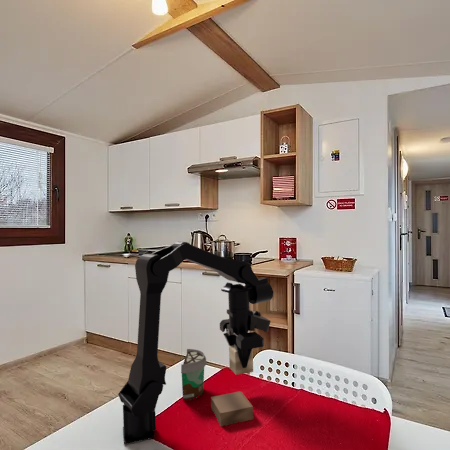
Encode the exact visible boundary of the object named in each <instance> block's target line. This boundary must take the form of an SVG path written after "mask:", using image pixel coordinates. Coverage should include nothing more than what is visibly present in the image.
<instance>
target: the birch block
mask: <svg viewBox="0 0 450 450" xmlns="http://www.w3.org/2000/svg"><path fill="white" fill-rule="evenodd" d="M253 349H254V348H253ZM253 349H252V351H251V353H250V357H249V361H248V364H247V367H246V368H243V367H242V365H241V363H240V360H239V357H238V354H237V352H236V349H235V346H234V345H233V346H229V345H228V357H229V358H228V359H229V363H228V364H229V369H230V370H231V371H232V372H233V373H234V374H235V376H237V375H242V374H249V373H254V359H253V358H254V355H253V354H254V351H253Z"/></svg>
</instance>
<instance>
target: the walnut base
mask: <svg viewBox="0 0 450 450" xmlns="http://www.w3.org/2000/svg"><path fill="white" fill-rule="evenodd" d="M210 406H211V407H210V408H211V409H210V410H211V411H212V413H213V412H214V413H213V415H214V414H215V415H214V416H216V417H215V418H217V419H216V421H217V422H218V424H219V426H220V427H224V426H223V425H225V426H228V425H229V424H230V425H234V424H238V422H239V423H244V422H247V421H252V420H254V407H253V405H252V403H251V402H250V401H249V400H248V398H247V397H246V396H245V394H244V393H243V392H242V391H235V392H230V393H226V394H225V393H224V394H220V395H214V396H211V397H210ZM233 423H234V424H233ZM230 425H229V426H230Z"/></svg>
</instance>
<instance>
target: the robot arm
mask: <svg viewBox="0 0 450 450" xmlns="http://www.w3.org/2000/svg"><path fill="white" fill-rule="evenodd" d="M184 261H188V262H190V263H193V264H195V265H198V266H201V267H204V268H207V269H210V270H213V271H214V272H215V273H218V274H219V276H220V277H222V278H224V279H226V280H228V281H230V282H226V283H225V285H224V286H223V287H222V288H221V290H220V291H221V292H224V293H228V296H227V297H228V309H226V314H227V315H228V318H227V319H222V320H221V321H220V323H219V330H220V331H221V332H222V333H223V336H224V339H225V340H226V342H227V344H228V347H229V346H233V345H234V346H235V349H236V352H237V354H238V357H239V360H240V363H241V365H242V367H243V368H246V367H247V364H248V361H249V357H250V353H251V351H252V349H258V348H263V347H264V346H265V339H264V337H263V336H261V334H259V333H258V332H256V331H255V330H256V329H257V330H260V331H263V332H265V333H268V332H269V329H270V325H271V319H269V318H267V317H264V316H262V314H261V312H260V311H258V310H255V309H254V310H251V309H250V305H251V304H252V305H256V304H260V303H266V302H270V301H271V300H272V299H273V297H274V290H273V288H272V285H271V283H270V282H269V280H268V277H259V278H258V277H257V275H256V273H254V271H253V268H252V264H251V263H249V262H248V261H245V260H236V259H231V258H225V257H223V256H220V255H218V254H215V253H213V252H210V251H207V250H205V249H204V248H203V249H202V248H200V247H198V246H195V245H193V244H191V243H190V242H187V241H176V242H174V243H172V244H171V245H169V246H166V247H163V248H161V249H159V250H156V251H154V252H152V253H144V254H142V255H140V256H139V257H138V258H137V259H136V261H135V265H134V271H135V277H136V280H135V281H136V282H137V287H138V289H139V294H140V295H139V296H140V297H139V310H138V311H139V312H138V313H139V314H138V329H137V331H138V332H137V344H136V347H137V348H136V356H135V357H134V360H133V362H132V364H131V366H130V370H129V375H128V380H127V382H126V383H125V384H124V385H123V387H122V388H121V390H120V391H119V393H118V394H117V395H118V397H119V398H118V399H119V400H120V402H121V403H123V405H122V421H123V426H122V435H123V437H122V438H123V444H124V445H128V444H134V443H138V442H142V441H147V440H151V439H154V438H155V437H156V436H155V431H156V430H157V423H156V422H157V421H156V408H157V403H158V400H159V396H160V395H162V392H163V389H164V386H166V385H167V382H166V372H167V366H166V365H165V364H164V363H162V362H161V361H160V360H159V357H158V356H159V355H158V354H159V353H158V352H159V340H160V339H159V337H160V318H161V317H160V316H161V300H162V293H163V291H164V289H165V287H166V285H167V283H168V279H169V274H170V272H171V271H173V270H175V269H176V268H177V267H179V266H180V265H181V264H182V263H183V262H184ZM232 282H234V283H235V282H236V283H235V284H234V283H232ZM243 284H244V285H243ZM249 331H250V332H249Z"/></svg>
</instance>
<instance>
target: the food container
mask: <svg viewBox="0 0 450 450" xmlns="http://www.w3.org/2000/svg"><path fill="white" fill-rule="evenodd" d="M183 360H184V361H183V364H180V365H181V366H180V367H181V368H180V369H181V371H180V373H181V386H182V401H183V402H185V401H184V400H189V401H191V400H190V399H193V400H195V399H194V398H196V397H198V396H200V395H201V394H202V393H203V394H204V387H205V384H204V383H205V382H204V380H205V367H206V366H207V363H208V362H207V357H206V355H205V353H204V352H203V351H201V350H199V349H193V348H187V349H186V356H185V358H184V359H183ZM203 394H202V395H203ZM202 395H201V396H202ZM201 396H200V397H201ZM198 398H199V397H198ZM196 399H197V398H196Z"/></svg>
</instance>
